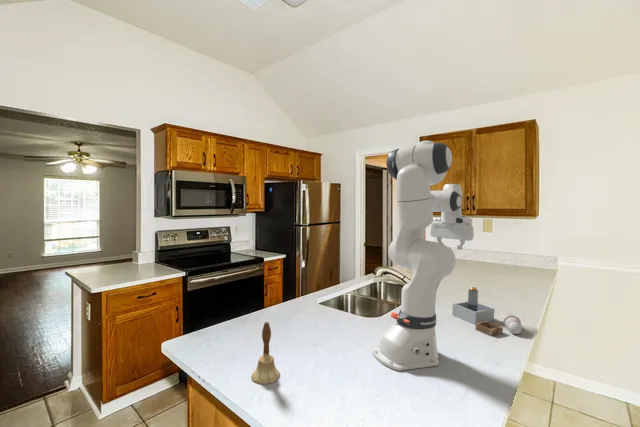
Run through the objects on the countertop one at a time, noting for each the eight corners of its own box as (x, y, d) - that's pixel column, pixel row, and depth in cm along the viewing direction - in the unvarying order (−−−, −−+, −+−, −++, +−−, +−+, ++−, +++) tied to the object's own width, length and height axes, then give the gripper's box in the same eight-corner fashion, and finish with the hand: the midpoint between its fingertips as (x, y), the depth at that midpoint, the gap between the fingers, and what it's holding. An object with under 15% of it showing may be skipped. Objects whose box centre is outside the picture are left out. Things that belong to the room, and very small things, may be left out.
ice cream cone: (507, 321, 137) (516, 341, 123) (496, 312, 138) (503, 330, 124) (519, 312, 135) (529, 331, 121) (507, 303, 136) (515, 321, 122)
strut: (476, 318, 139) (478, 289, 138) (466, 316, 141) (467, 288, 140) (478, 315, 142) (479, 287, 142) (468, 313, 144) (469, 286, 144)
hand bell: (285, 375, 92) (286, 322, 91) (263, 388, 86) (263, 330, 85) (267, 365, 97) (268, 315, 97) (245, 376, 91) (245, 322, 91)
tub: (475, 324, 133) (475, 312, 133) (452, 315, 144) (452, 303, 144) (493, 320, 138) (494, 308, 138) (470, 311, 149) (470, 300, 149)
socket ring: (491, 336, 122) (491, 329, 122) (475, 329, 128) (475, 323, 128) (502, 333, 125) (502, 327, 125) (486, 326, 131) (487, 320, 131)
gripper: (427, 217, 153) (427, 245, 153) (468, 220, 136) (467, 251, 137) (435, 217, 157) (434, 244, 157) (476, 219, 140) (474, 250, 141)
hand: (450, 248), depth 147 cm, fingers open, 8 cm apart
